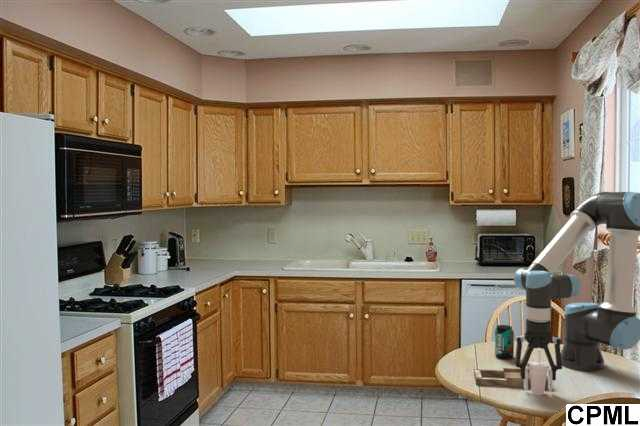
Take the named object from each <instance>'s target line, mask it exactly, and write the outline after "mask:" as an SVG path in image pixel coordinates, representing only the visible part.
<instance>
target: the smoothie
mask: <svg viewBox="0 0 640 426" xmlns="http://www.w3.org/2000/svg"><path fill="white" fill-rule="evenodd" d="M549 366H550V364H549V363H547V362H545V361H542V360H541V350H538V360H529V361H528V363H527V368H528V369H529V373H530V381H531V388H530V389H531V393H532V394H533V395H536V396H542V395H543V396H544V395H545V390H546V388H545V383H546V376H548V369H550V367H549Z"/></svg>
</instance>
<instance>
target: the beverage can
mask: <svg viewBox="0 0 640 426" xmlns="http://www.w3.org/2000/svg"><path fill="white" fill-rule="evenodd" d="M514 335H515V333H514V329H513V326H511V325H509V324H508V325H506V324H498V325H496V327H495V329H494V356H495V357H496V358H498V359H501V360H511V359H513V358H514V356H515V353H514V348H515V346H514V345H515V343H514V341H515V340H514V339H515V338H514V337H515V336H514Z"/></svg>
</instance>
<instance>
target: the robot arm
mask: <svg viewBox="0 0 640 426" xmlns="http://www.w3.org/2000/svg"><path fill="white" fill-rule="evenodd" d="M601 225H606V227H605V230H606V231H607V232H608V233H609V246H608V247H609V248H608V256H607V267H606V277H605V288H604V289H605V290H604V298H603V302H601V303H600V304H599V303H598V302H585V301H584V302H572V303H568V304H566V306H565V308H564V343H563V346H562V348H561V344H562V339H561V338H560V337H559V336H557V337H555V336H553V335H552V321H551V319H552V300H557V299H558V300H559V299H569V298H572V297H575V296H577V295H578V294H579V293H580V292H581V281H580V280H579V278H578V277H577V276H575V275H574V274H570V273H569V274H568V273H564V274H557V273H555V272H556V270H557V269H558V268H559V267H560V266H561V265H562V263H563V262H564V261H565V260H566V258H567V257H569V255H570V254H571V253H572V251H573V250H574V249H575V248H576V247H577V246H578V244H579V243H580V242H581V241H582V240H583V239H584V238H585V237H586V235H587V233H588V232H593V231H594V230H595V229H596V228H597V226H601ZM639 237H640V192H635V191H602V192H601V191H600V192H597V193H595V194H593V195H591V196H589V197H587V198H586V199H585V200H583V201H582V202H581V203H579V204H578V205H577V206H576V207H575V208H574V210H573V211H571V213H570V214H569V219H568V221H567V222H566V223H565V224H564V225H563V226H562V228H561V229H560V230H559V231H558V232H557V233H556V235H554V236H553V238H552V239H551V241H550V242H549V243H548V244H547V245H546V246H545V248H544V249H543V250H542V251H541V252H540V253H539V254H538V255H537V256H536V258H535V259H534V260H533V261H532V262H531V264H530V265H529V266H528V267H527V268H526V267H524V268H523V267H521V268H519V269H516V271H515V273H514V276H513V282H514V285H515V286H516V287H517V288H519V289H520V290H524V291H525V318H526V319H525V333H524V334H523V335H516V336H515V340H516V349H515V354H514V356H515V357H514V365H515V368H520V369H521V378H522V379H524V387H523V388H524V390H526V391H528V389H529V387H528V370H527V369H528V367H527V366H528V362H529V361H530V358H531V355H532V352H533V351H534V349H541V350H542V349H543V351H544V353H545V355H546V358H547V360H548V365H549V366H550V367H549V368H548V369H547V376H548V388H547V389H548V390H549V392H553V381H556V379H557V371H558V370H562V369H563V366H564V367H565V368H568V369H572V370H578V371H585V372H586V371H587V372H592V371H601V370H603V369H605V359H604V357H603V353H602V349H601V347H600V344H604V345H607V346H610V347H612V348H614V349H621V350H630V349H632V348H634V347H635V346H636V345H637V344H638V343H639V342H640V318H638V317H637V310H636V308H634V306H633V296H634V288H635V287H634V285H635V275H636V265H637V254H638V244H639ZM525 341H526V342H527V345H526V347H527V348H526V350H525V352H524V355H523V358H522V357H521V356H522V348H523V343H524V342H525ZM551 342H552V343H553V345H554V354H555V355H554V356H555V361H554V359H553V357H552V355H551V351H550V349H549V345H550V343H551ZM521 358H522V360H521Z"/></svg>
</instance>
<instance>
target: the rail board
mask: <svg viewBox="0 0 640 426" xmlns="http://www.w3.org/2000/svg"><path fill="white" fill-rule="evenodd" d="M527 370H528V388H530V389H531V381H530V373H529V368H527ZM473 376H474V380H475V381H474V382H475V384H476V385H477V386H478V385H479V386H480V385H481V386H497V387H513V388H515V387H516V388H524V379H522V378H521V369H520V368H519V367H515V368H514V367H503V369H502V370H501V369H481V368H477V369H476V368H474V369H473ZM488 377H489V378H488ZM491 377H492V378H491ZM493 377H498V378H493ZM499 377H500V378H499ZM501 377H502V378H501ZM545 389H548V375H547V376H546V383H545Z"/></svg>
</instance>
